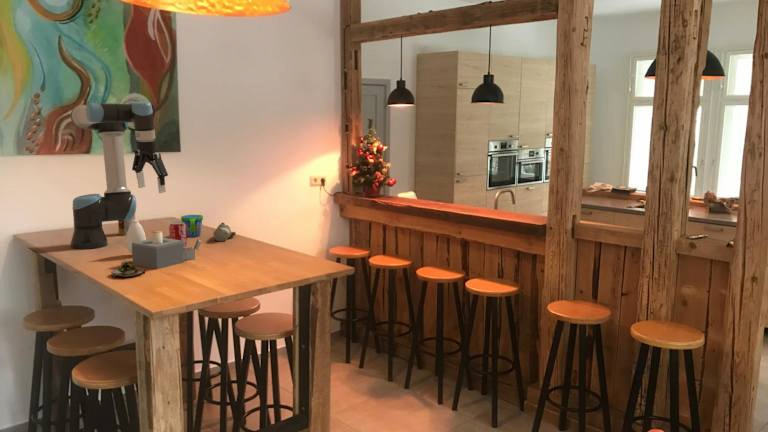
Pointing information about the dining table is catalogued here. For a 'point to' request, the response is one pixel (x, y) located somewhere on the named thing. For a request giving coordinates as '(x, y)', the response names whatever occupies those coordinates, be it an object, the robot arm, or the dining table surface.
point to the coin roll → (157, 237)
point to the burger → (127, 270)
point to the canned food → (124, 226)
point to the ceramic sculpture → (223, 232)
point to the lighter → (191, 251)
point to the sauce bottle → (134, 234)
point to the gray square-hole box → (158, 253)
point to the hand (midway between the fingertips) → (151, 190)
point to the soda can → (178, 232)
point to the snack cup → (192, 225)
